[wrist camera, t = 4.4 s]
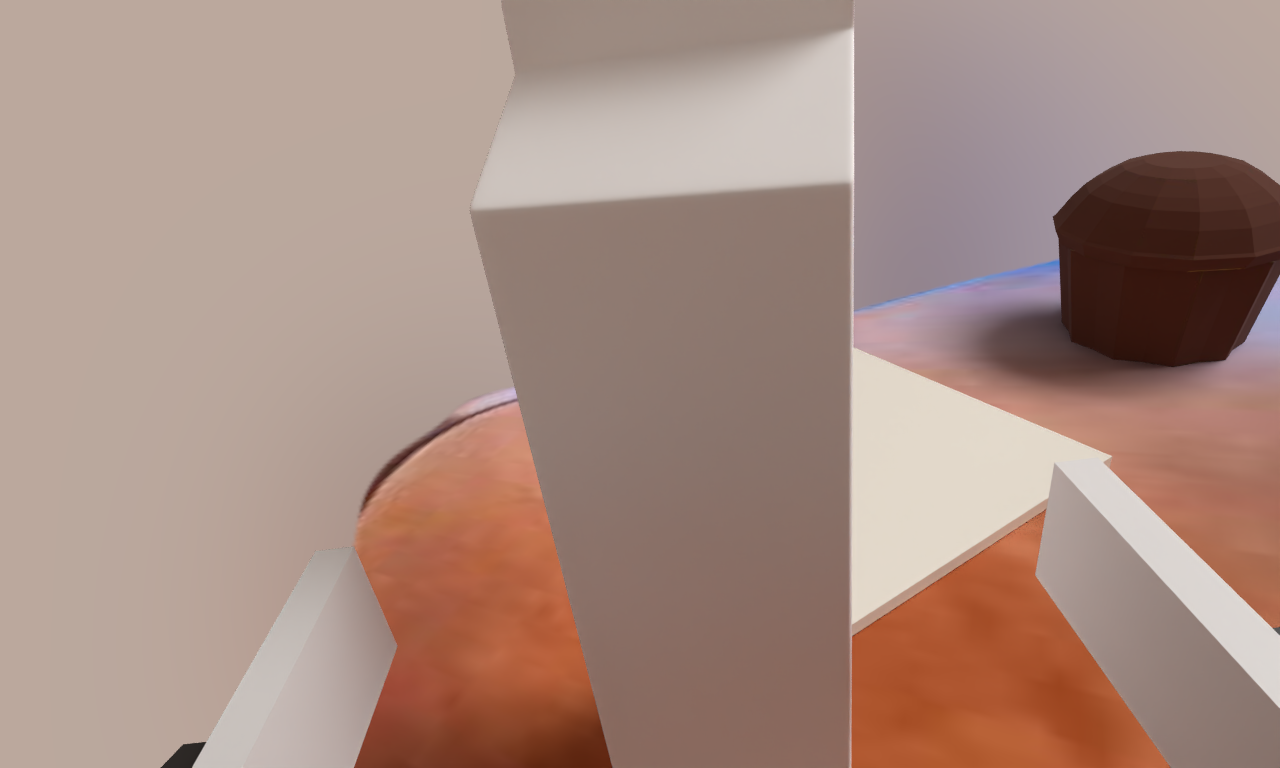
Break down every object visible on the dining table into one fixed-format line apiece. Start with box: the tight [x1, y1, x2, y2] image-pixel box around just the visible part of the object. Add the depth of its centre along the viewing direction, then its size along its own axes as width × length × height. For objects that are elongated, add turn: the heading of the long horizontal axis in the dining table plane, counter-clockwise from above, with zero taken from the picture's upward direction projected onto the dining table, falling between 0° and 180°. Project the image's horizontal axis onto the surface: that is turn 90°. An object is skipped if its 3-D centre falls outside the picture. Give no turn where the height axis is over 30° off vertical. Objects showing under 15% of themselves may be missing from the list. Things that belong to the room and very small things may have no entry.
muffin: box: [1053, 151, 1280, 367], centre depth 40 cm, size 12×11×10 cm
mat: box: [852, 347, 1112, 636], centre depth 35 cm, size 16×16×1 cm
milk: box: [470, 0, 854, 768], centre depth 17 cm, size 6×6×22 cm
